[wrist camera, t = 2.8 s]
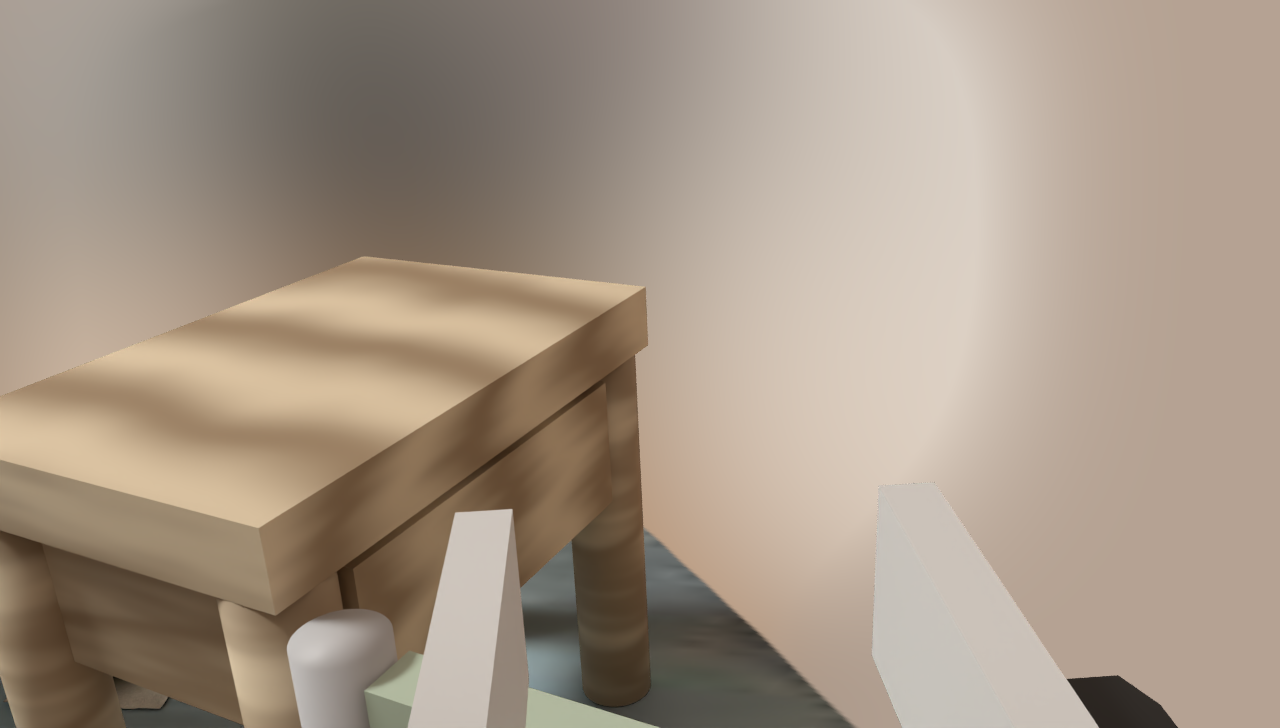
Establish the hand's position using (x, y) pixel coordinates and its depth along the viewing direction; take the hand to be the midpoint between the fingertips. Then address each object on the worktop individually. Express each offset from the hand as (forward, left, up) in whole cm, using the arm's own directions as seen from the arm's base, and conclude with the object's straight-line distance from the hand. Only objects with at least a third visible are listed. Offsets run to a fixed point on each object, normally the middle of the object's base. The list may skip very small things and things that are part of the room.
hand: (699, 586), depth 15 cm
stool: (-4, +24, -22) cm, 33 cm away
